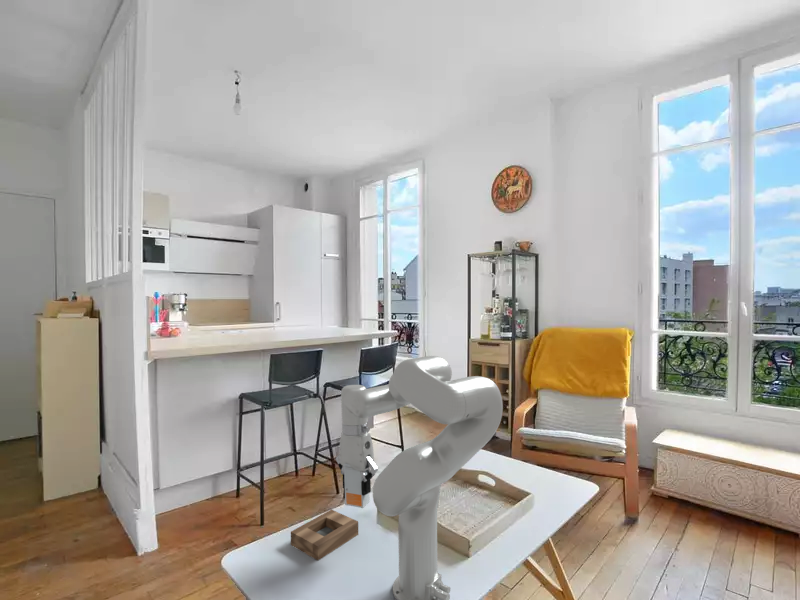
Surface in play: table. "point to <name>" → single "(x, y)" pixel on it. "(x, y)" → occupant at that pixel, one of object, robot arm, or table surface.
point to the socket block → (324, 534)
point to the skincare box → (354, 488)
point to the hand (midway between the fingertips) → (356, 489)
